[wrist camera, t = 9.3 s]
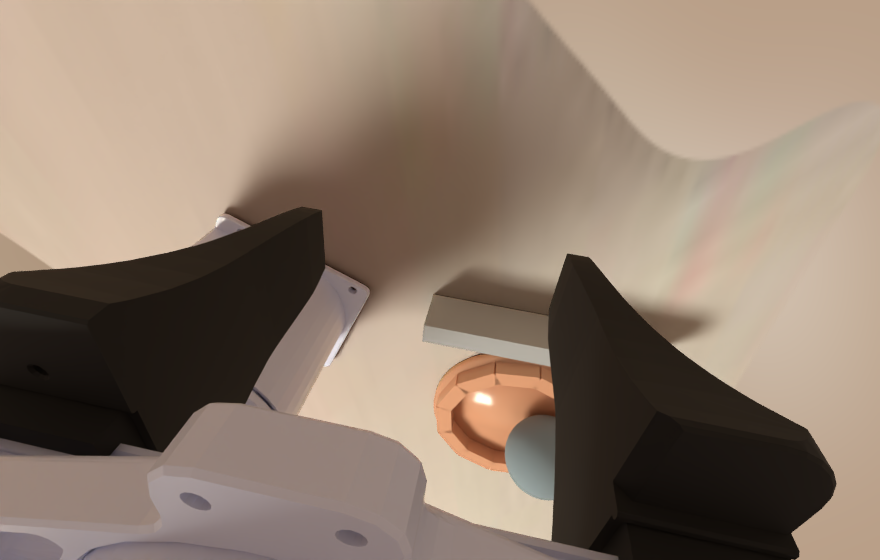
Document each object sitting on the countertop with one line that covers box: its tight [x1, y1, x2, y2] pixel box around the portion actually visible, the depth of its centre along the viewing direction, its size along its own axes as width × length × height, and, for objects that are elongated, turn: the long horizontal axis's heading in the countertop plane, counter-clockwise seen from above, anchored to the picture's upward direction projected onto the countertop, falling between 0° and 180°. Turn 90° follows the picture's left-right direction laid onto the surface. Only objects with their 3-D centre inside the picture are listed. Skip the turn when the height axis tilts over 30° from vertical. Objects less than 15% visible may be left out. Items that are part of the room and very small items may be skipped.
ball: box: [505, 415, 555, 500], centre depth 27 cm, size 5×5×5 cm
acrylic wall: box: [422, 294, 551, 367], centre depth 24 cm, size 13×1×3 cm, turn 84°
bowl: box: [434, 354, 555, 473], centre depth 29 cm, size 11×11×2 cm
